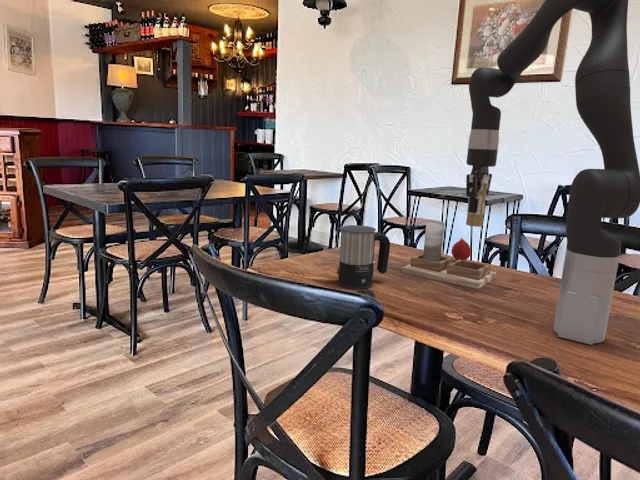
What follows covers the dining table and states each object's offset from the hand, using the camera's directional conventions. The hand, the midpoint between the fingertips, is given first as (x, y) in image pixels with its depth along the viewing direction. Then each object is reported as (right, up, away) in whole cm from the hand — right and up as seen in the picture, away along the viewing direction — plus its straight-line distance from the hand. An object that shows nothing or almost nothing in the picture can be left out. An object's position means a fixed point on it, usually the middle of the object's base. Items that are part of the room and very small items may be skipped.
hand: (475, 211), depth 132 cm
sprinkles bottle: (0, -4, +1) cm, 4 cm away
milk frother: (-33, -19, -2) cm, 38 cm away
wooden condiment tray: (-5, -18, +7) cm, 20 cm away
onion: (+2, -15, +22) cm, 27 cm away
